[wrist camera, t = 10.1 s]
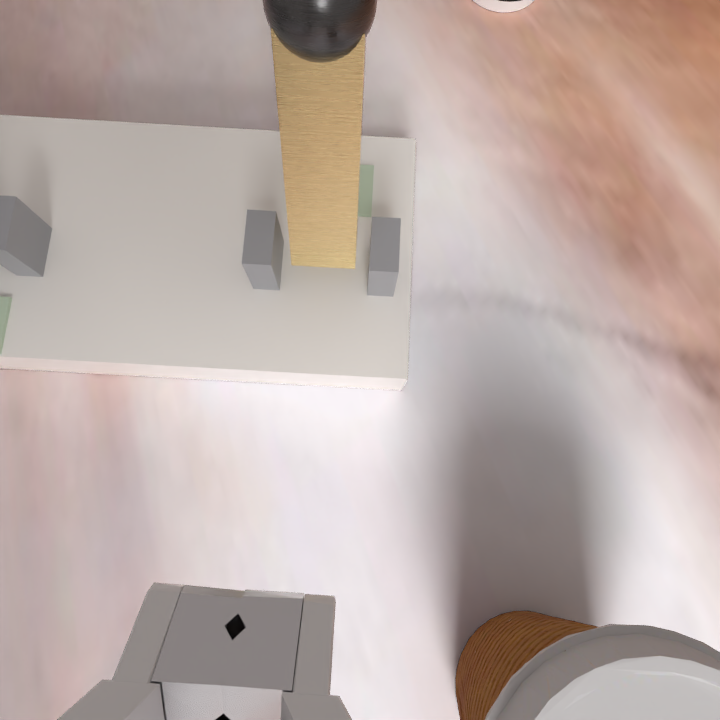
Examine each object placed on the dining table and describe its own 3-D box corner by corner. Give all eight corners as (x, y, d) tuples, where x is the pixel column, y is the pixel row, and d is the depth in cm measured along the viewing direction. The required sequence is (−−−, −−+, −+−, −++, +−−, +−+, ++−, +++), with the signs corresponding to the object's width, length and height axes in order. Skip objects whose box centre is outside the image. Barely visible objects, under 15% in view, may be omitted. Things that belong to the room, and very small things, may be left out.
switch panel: (401, 390, 29) (415, 364, 23) (-86, 363, 28) (-199, 330, 23) (409, 171, 31) (424, 98, 25) (-36, 146, 31) (-125, 66, 25)
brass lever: (361, 283, 25) (379, -38, 15) (282, 278, 25) (247, -46, 15) (364, 228, 27) (381, -88, 17) (291, 224, 27) (265, -95, 17)
